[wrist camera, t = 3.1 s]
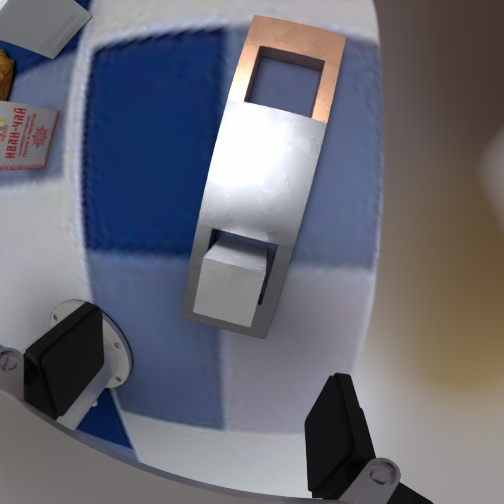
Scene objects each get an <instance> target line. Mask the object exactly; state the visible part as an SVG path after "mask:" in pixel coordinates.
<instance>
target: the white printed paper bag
mask: <svg viewBox="0 0 504 504" xmlns="http://www.w3.org/2000/svg"><path fill="white" fill-rule="evenodd" d="M59 113H60V111H57V110H52V109H48V108H43V107H37V106H32V105H27V104H20V103H13V102H6V101H0V170H21V169H37V168H45V166H46V161H47V157H48V153H49V148H50V144H51V140H52V137H53V133H54V129H55V126H56V122H57V119H58V116H59Z"/></svg>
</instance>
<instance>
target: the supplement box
mask: <svg viewBox="0 0 504 504" xmlns="http://www.w3.org/2000/svg"><path fill="white" fill-rule="evenodd" d="M91 17H92V15H91V14H90V13H89V12H88V11H86V10H85V9H84V8H83V7H81V6H80V5H79V4H78V3H76V2H75V1H74V0H0V40H3V41H6V42H9V43H12V44H15V45H17V46H20V47H23V48H26V49H28V50H31V51H33V52H36V53H39V54H41V55H43V56H46V57H48V58H51V59H54V58H55V57H56V56H57V55H58V53H59V52H60V51H61V50H62V49H63V47H64V46H65V45H66V44H67V43H68V42H69V41H70V39H71V38H72V37H73V36H74V35H75V34H76V33H77V32H78V31H79V30H80V29H81V27H82V26H83V25H84V24H85V23H86V22H87V21H88V20H89V19H90V18H91Z"/></svg>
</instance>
